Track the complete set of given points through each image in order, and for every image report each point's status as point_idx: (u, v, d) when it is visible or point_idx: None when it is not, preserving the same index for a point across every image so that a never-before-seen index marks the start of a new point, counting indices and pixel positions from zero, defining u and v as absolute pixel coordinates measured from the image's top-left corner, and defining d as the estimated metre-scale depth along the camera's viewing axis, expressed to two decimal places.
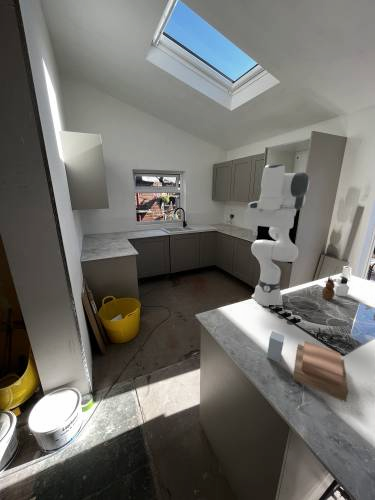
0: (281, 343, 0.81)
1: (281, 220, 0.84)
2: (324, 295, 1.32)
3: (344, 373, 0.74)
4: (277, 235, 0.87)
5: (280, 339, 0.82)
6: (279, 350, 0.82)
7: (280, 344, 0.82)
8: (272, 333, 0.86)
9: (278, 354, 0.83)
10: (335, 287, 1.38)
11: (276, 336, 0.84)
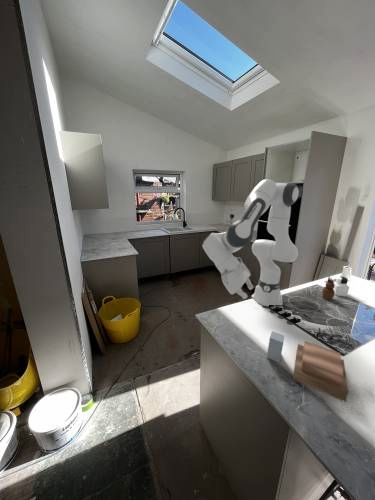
0: (281, 343, 0.81)
1: None
2: (324, 295, 1.32)
3: (344, 373, 0.74)
4: None
5: (280, 339, 0.82)
6: (279, 350, 0.82)
7: (280, 344, 0.82)
8: (272, 333, 0.86)
9: (278, 354, 0.83)
10: (335, 287, 1.38)
11: (276, 336, 0.84)
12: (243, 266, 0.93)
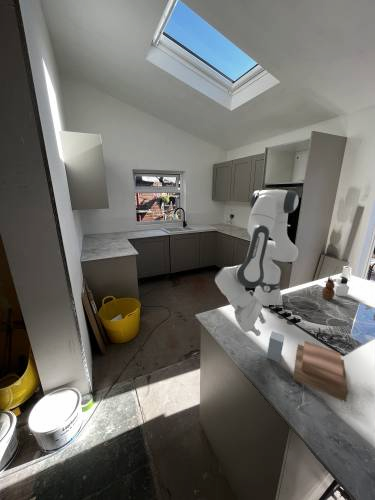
0: (281, 343, 0.81)
1: None
2: (324, 295, 1.32)
3: (344, 373, 0.74)
4: None
5: (280, 339, 0.82)
6: (279, 350, 0.82)
7: (280, 344, 0.82)
8: (272, 333, 0.86)
9: (278, 354, 0.83)
10: (335, 287, 1.38)
11: (276, 336, 0.84)
12: (255, 299, 0.93)
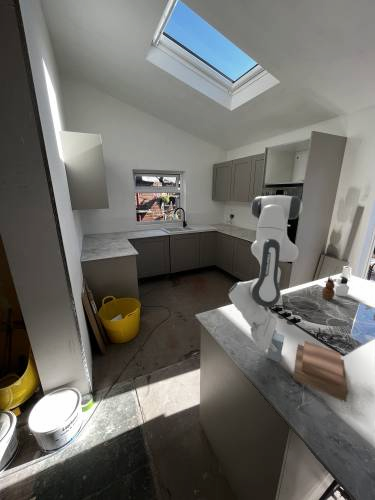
0: (281, 343, 0.81)
1: None
2: (324, 295, 1.32)
3: (344, 373, 0.74)
4: None
5: (280, 339, 0.82)
6: (279, 350, 0.82)
7: (280, 344, 0.82)
8: None
9: (278, 354, 0.83)
10: (335, 287, 1.38)
11: (276, 336, 0.84)
12: (269, 314, 0.92)
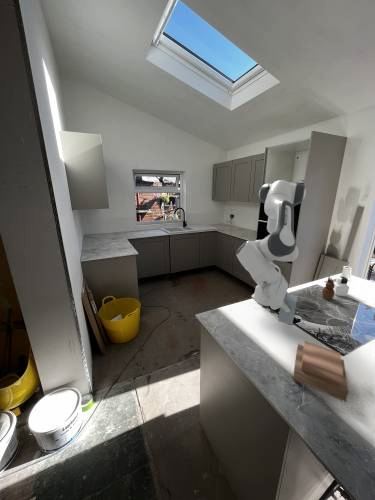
0: (294, 303, 0.75)
1: None
2: (324, 295, 1.32)
3: (344, 373, 0.74)
4: None
5: (293, 299, 0.76)
6: (292, 311, 0.76)
7: (293, 304, 0.75)
8: None
9: (291, 315, 0.76)
10: (335, 287, 1.38)
11: (288, 297, 0.77)
12: (280, 276, 0.85)
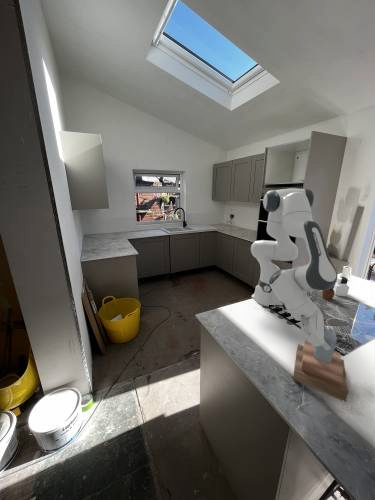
0: (334, 342, 0.71)
1: None
2: (324, 295, 1.32)
3: (344, 373, 0.74)
4: None
5: (332, 337, 0.72)
6: (331, 350, 0.72)
7: (333, 343, 0.71)
8: None
9: (330, 354, 0.73)
10: (335, 287, 1.38)
11: (326, 334, 0.74)
12: None
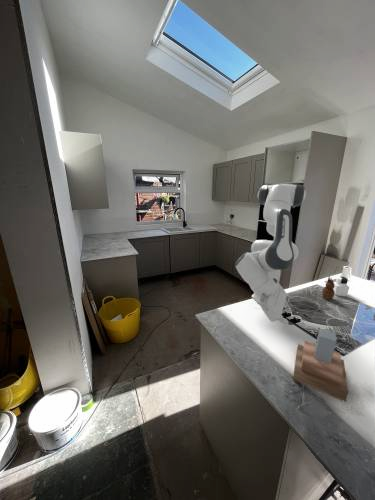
0: (334, 342, 0.71)
1: None
2: (324, 295, 1.32)
3: (344, 373, 0.74)
4: None
5: (332, 337, 0.72)
6: (331, 350, 0.72)
7: (333, 343, 0.71)
8: (321, 331, 0.76)
9: (330, 354, 0.73)
10: (335, 287, 1.38)
11: (326, 334, 0.74)
12: (279, 286, 0.87)
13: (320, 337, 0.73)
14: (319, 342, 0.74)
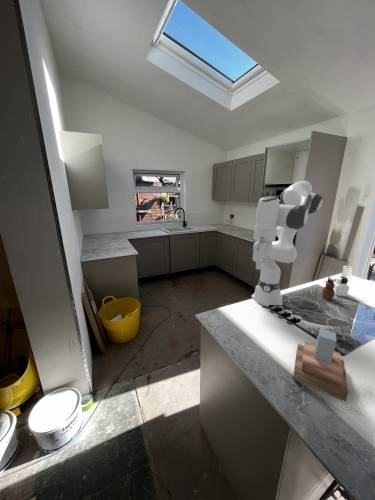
0: (334, 342, 0.71)
1: None
2: (324, 295, 1.32)
3: (344, 373, 0.74)
4: (256, 265, 0.88)
5: (332, 337, 0.72)
6: (331, 350, 0.72)
7: (333, 343, 0.71)
8: (321, 331, 0.76)
9: (330, 354, 0.73)
10: (335, 287, 1.38)
11: (326, 334, 0.74)
12: (271, 241, 0.94)
13: (320, 337, 0.73)
14: (319, 342, 0.74)
